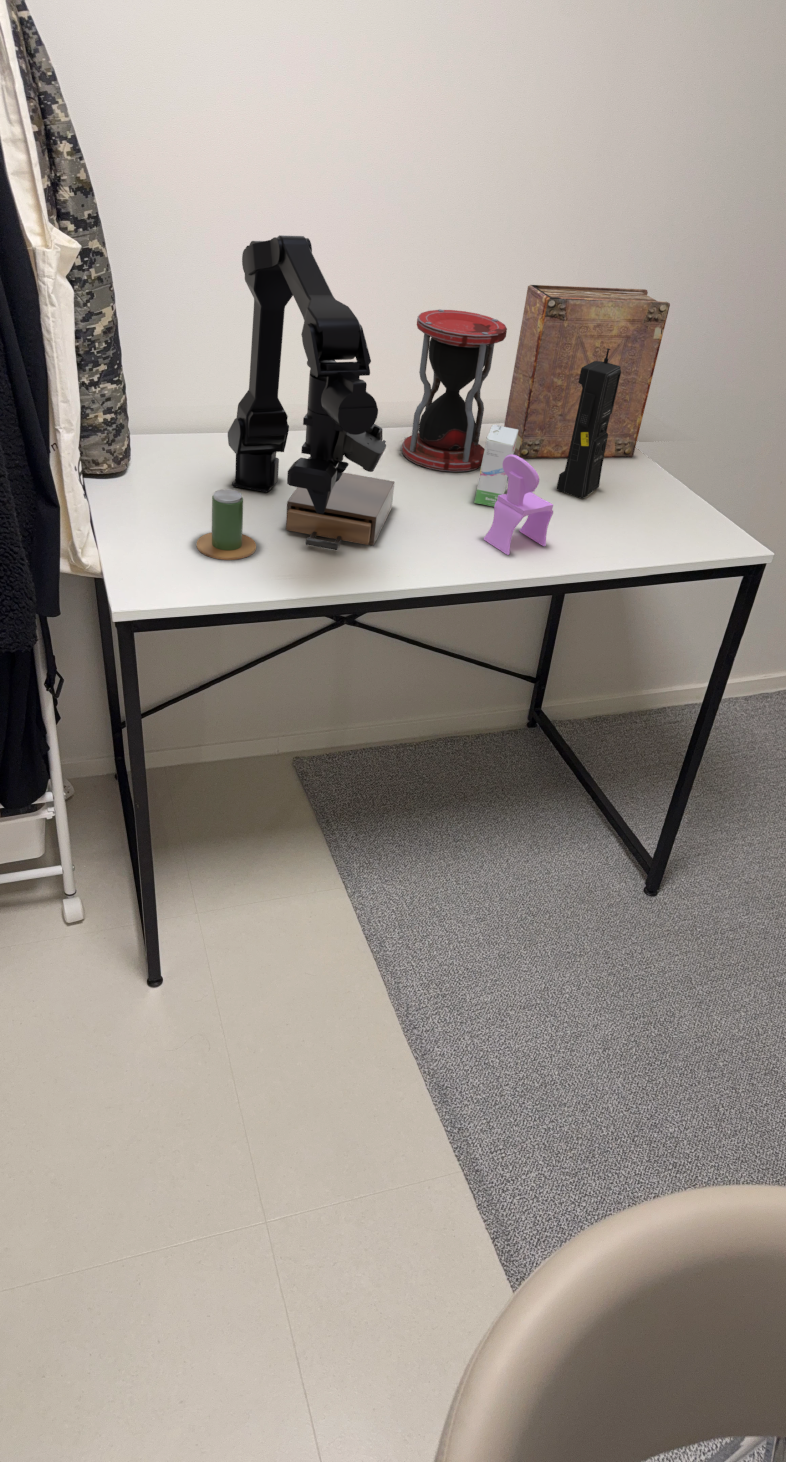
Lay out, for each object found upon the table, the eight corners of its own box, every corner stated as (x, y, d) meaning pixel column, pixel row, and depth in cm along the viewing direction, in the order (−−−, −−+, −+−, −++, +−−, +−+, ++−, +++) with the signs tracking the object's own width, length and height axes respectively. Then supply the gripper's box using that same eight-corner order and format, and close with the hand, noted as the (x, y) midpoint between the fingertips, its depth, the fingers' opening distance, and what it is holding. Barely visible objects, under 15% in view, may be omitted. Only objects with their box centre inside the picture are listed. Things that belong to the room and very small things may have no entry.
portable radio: (583, 502, 189) (614, 362, 175) (553, 492, 192) (581, 353, 177) (599, 489, 195) (631, 353, 180) (570, 480, 197) (599, 345, 183)
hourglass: (430, 476, 191) (449, 336, 177) (386, 444, 202) (400, 310, 188) (501, 467, 199) (525, 332, 184) (455, 437, 210) (474, 307, 195)
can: (236, 552, 158) (237, 503, 153) (207, 547, 158) (207, 497, 153) (245, 540, 161) (247, 491, 157) (217, 535, 162) (217, 486, 157)
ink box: (479, 486, 190) (490, 422, 183) (507, 491, 190) (519, 427, 183) (473, 503, 183) (484, 438, 176) (502, 509, 183) (514, 443, 176)
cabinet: (373, 545, 165) (376, 517, 163) (285, 529, 167) (287, 501, 164) (391, 508, 178) (394, 481, 175) (309, 493, 179) (311, 466, 176)
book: (612, 440, 218) (648, 289, 201) (633, 457, 211) (672, 302, 194) (500, 441, 211) (528, 284, 193) (518, 458, 204) (548, 297, 186)
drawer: (362, 556, 161) (364, 536, 159) (279, 541, 162) (280, 521, 160) (385, 510, 175) (387, 491, 173) (309, 497, 177) (310, 478, 175)
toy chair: (551, 548, 172) (570, 460, 163) (511, 557, 167) (529, 468, 159) (518, 527, 177) (535, 442, 168) (479, 536, 172) (494, 449, 164)
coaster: (188, 553, 157) (188, 551, 156) (207, 529, 164) (207, 527, 164) (246, 564, 156) (246, 561, 156) (263, 539, 163) (263, 537, 163)
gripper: (370, 440, 137) (360, 548, 146) (396, 398, 153) (385, 498, 162) (288, 426, 138) (283, 534, 147) (322, 385, 154) (315, 486, 163)
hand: (320, 512), depth 155 cm, fingers closed
